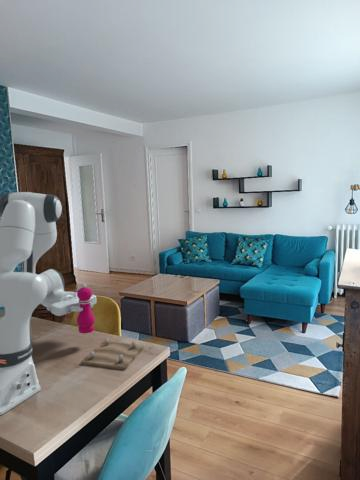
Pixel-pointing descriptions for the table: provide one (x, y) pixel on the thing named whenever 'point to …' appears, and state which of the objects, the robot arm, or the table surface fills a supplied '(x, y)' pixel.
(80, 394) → the table surface
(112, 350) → the pin base
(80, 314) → the pepper mill
